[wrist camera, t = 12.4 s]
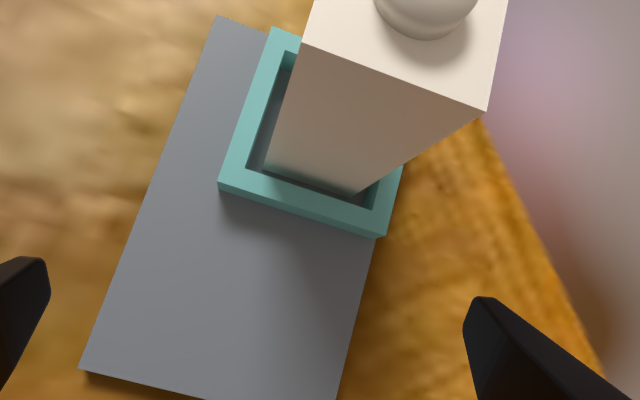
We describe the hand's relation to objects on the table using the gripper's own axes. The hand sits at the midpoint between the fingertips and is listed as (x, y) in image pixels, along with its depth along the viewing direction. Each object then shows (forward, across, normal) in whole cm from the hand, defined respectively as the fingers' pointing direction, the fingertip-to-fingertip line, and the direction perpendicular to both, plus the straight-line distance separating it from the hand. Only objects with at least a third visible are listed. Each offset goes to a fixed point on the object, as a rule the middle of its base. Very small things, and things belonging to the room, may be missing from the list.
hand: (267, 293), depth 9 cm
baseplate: (+13, +1, +5) cm, 14 cm away
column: (+15, -2, +2) cm, 15 cm away
